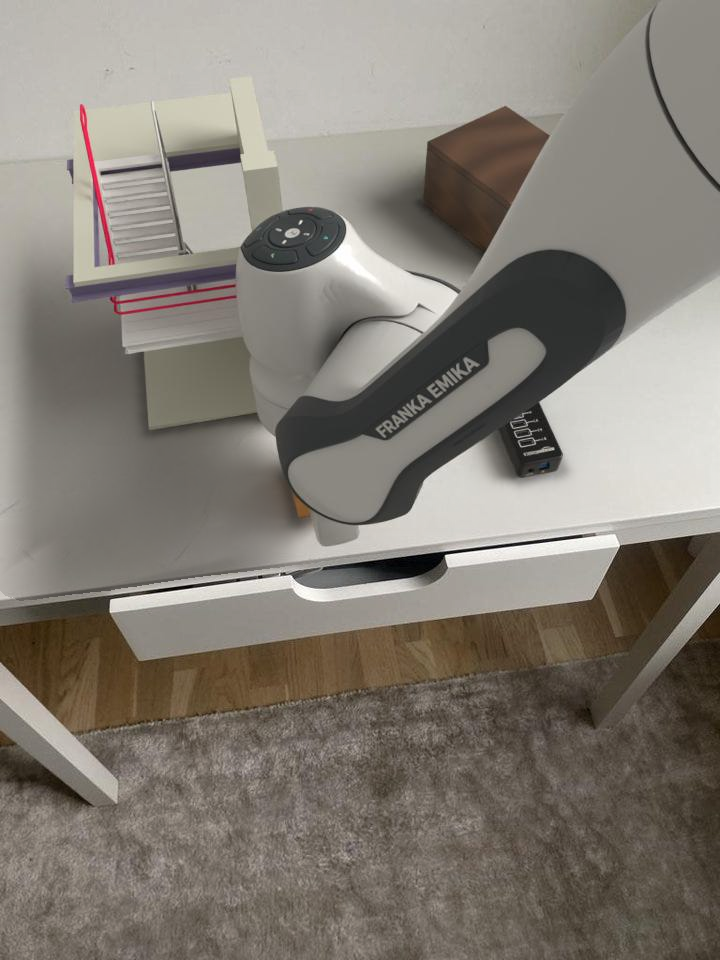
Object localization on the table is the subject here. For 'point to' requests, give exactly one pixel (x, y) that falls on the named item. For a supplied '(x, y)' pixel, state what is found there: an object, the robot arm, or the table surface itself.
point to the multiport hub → (531, 443)
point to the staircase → (170, 244)
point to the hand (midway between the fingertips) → (317, 482)
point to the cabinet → (480, 172)
